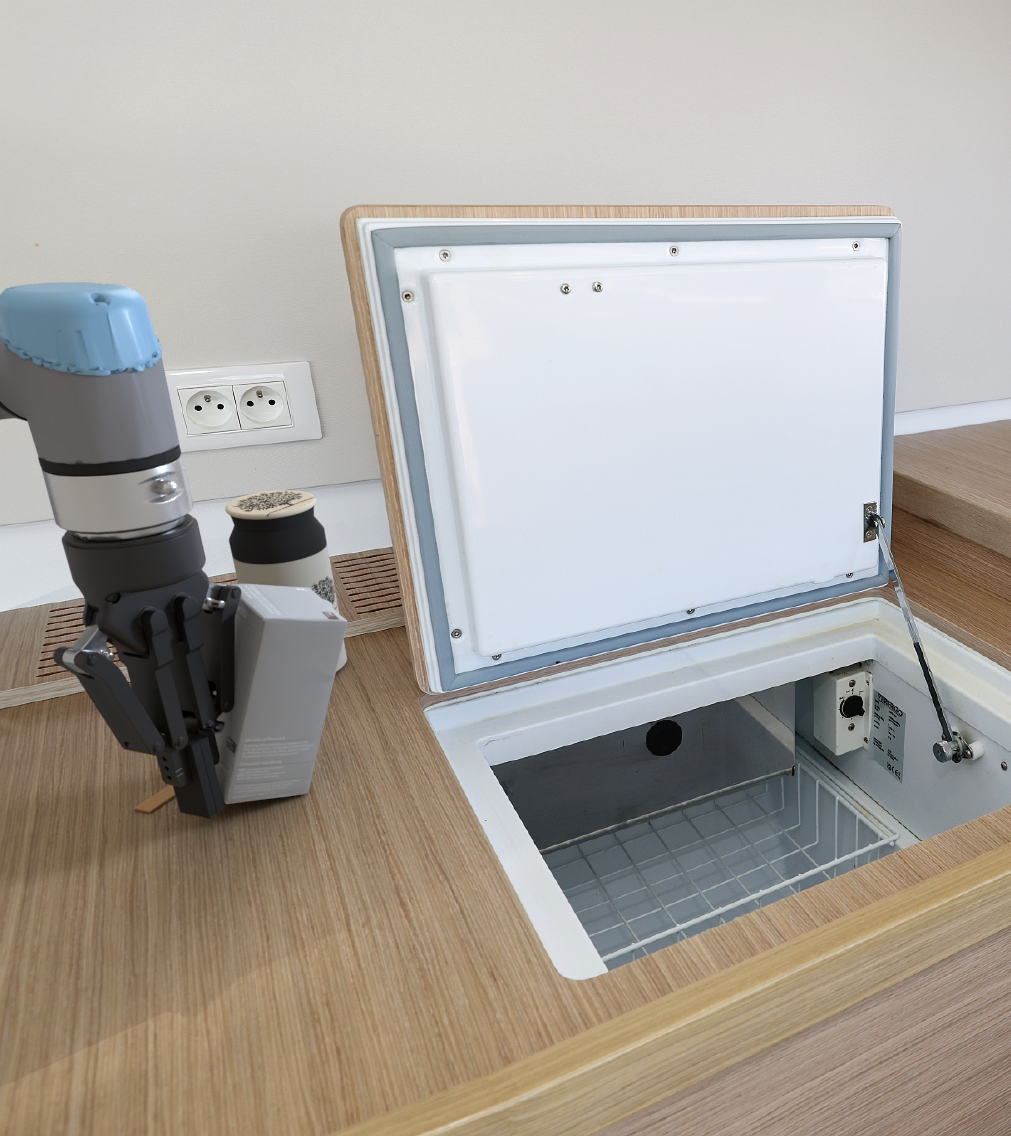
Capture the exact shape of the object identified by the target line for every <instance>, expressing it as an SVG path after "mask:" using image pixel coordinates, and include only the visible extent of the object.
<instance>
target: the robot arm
mask: <svg viewBox="0 0 1011 1136" xmlns="http://www.w3.org/2000/svg"><path fill="white" fill-rule="evenodd" d="M162 351H163V349H162V344H161V342H160V338H158V336H157V335H156V333H155V329H154V326H153V323H152V319H151V315H150V312H149V309H148V305H147V302H146V300H145V299H144V297H143V296H142V295H141V294H140V293H139V292H138V291H137V290H135V289H134V288H132V287H129V286H126V285H121V284H116V283H96V282H89V281H88V282H79V281H75V282H73V281H72V282H69V281H67V282H63V281H61V282H41V283H40V282H39V283H29V284H20V285H15V286H14V285H13V286H9V287H7V288H5V289H4V290H3V291H1V293H0V421H2V420H9V419H10V420H11V419H17V420H21V421H24V422H27V425H28V429H29V430H30V434H31V437H32V441H33V445H34V447H35V450H36V454H37V457H38V458H37V459H38V462H39V466H40V468H41V469H40V470H41V472H42V476H43V477H42V478H43V480H44V485H45V488H46V492H47V495H48V499H49V503H50V507H51V510H52V515H53V518H54V522H55V525H56V526H58V527H59V528H60V529H63V530H65V532H64V534H63V535H62V536H61V545H62V547H63V551H64V554H65V558H66V562H67V564H68V568H69V572H70V575H71V579H72V581H73V583H74V584H75V586H76V587H77V589H78V590H79V592H80V593H81V595H82V596H83V599H84V607H83V612H82V617H81V619H82V623H83V626H85V629H84V630H83V631H82V633H81V634H80V635H79V637H77V639H76V640H75V642H74V643H73V644H72V646H68V645H61V646H59V647H57V648H56V649H55V650H54V652H53V654H52V655H53V656H52V659H53V661H54V663H56V664H57V665H58V666H60V667H61V668H63V669H65V670H66V671H68V672H70V673H71V674H73V675H74V676H75V677H76V678H77V680H78V681H79V683H80V685H81V686H82V688H83V689H84V691H85V692H86V694H87V695H88V697H89V699H90V700H91V702H92V703H93V705H94V707H95V708H96V709H97V711H98V712H99V714H100V716H101V717H102V718H103V720H104V722H105V723H106V725H107V726H108V728H109V730H110V731H111V732H112V734H113V736H114V737H115V739H116V740H117V742H118V743H119V745H120V747H121V748H122V749H123V750H125V751H130V752H135V753H139V754H145V755H150V756H155V758H156V761H157V762H156V763H157V765H158V768H159V773H160V776H161V780H162V781H163V782H164V784H165V785H167V786H168V785H173V788H174V792H175V799H176V803H177V807H178V810H179V813H181V814H185V815H191V816H196V817H200V818H205V819H209V820H210V819H211V818H213V817H215V815H217V814H218V813H220V812H222V811H223V810H224V809H225V808H226V807H225V802H223V798H222V794H221V790H220V786H219V782H218V778H217V773H216V769H215V765H217V764H218V763H219V759H220V755H219V750H218V746H217V742H216V738H215V734H218V733H220V732H221V731H223V729H224V727H225V722H224V721H219V720H217V718H218V717H219V716H220V715H221V714H222V713H223V712H224V713H228V712H230V711H231V710H232V709H233V707H234V685H235V614H236V611H237V608H238V604H239V601H240V597H241V593H242V592H241V589H240V588H239V587H238V586H232V585H230V584H225V583H218V582H213V581H210V579H209V577H208V576H209V575H208V574H207V573H206V572H205V571H204V570H203V568H204V567H205V565H206V562H207V561H206V560H207V557H206V552H205V549H204V544H203V538H202V535H201V530H200V527H199V522H198V520H197V518H195V517H194V516H193V515H191V514H190V512H191V511H192V510H193V508H194V501H193V497H192V492H191V488H190V487H191V486H190V483H189V480H188V475H187V470H186V466H185V460H184V457H183V453H182V450H181V445H180V439H179V435H178V430H177V424H176V420H175V414H174V411H173V405H172V401H171V395H170V392H169V386H168V381H167V377H166V372H165V367H164V362H163V356H162V355H163V352H162ZM107 643H108V644H110V645H111V646H113V647H114V648H115V651H116V655H117V658H118V661H120V663H121V664H123V665H124V667H126V670H127V674H128V678H129V680H128V679H127V678H126V676H125V674H124V673H123V671H122V670H121V669H120V667H119V666H118V665H117V664H115V663H114V662H113V661H114V660H115V658H116V655H115V653H113V652H111V650H110V649H109V647H108V645H107ZM214 691H216V695H214V694H213V693H214ZM214 733H215V734H214Z"/></svg>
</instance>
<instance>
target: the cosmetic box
mask: <svg viewBox="0 0 1011 1136" xmlns="http://www.w3.org/2000/svg"><path fill="white" fill-rule="evenodd" d="M229 585H232V586H238V587H239V588H240V589H241V592H242V593H241V597H240V601H239V604H238V608H237V611H236V614H235V685H234V707H233V709H232V710H231V711H230V712H228V713H224V712H223V713H222V714H221V715H220V716H219V717H218V718H217V720H219V721H224V722H225V727H224V729H223V731H221V732H220V733H218V734H215V733H214V734H215V738H216V742H217V746H218V750H219V755H220V759H219V763H218V764H217V765H215V769H216V773H217V778H218V782H219V786H220V790H221V794H222V798H223V803H224V805H225V804H226V805H229V804H236V803H245V802H252V801H253V802H254V801H260V800H268V799H278V798H286V797H291V796H292V797H293V796H299V795H307V794H309V792H310V788H311V784H312V779H313V774H314V770H315V765H316V761H317V756H318V753H319V748H320V745H321V740H322V739H321V738H322V736H323V735H322V734H323V730H324V725H325V721H326V717H327V716H326V715H327V712H328V708H329V704H330V698H331V694H332V690H333V685H334V682H335V677H336V674H337V672H336V669H337V665H338V660H339V656H340V652H341V648H342V643H343V639H345V635H346V630H347V625H348V620H347V619H346V618H345V617H344V616H342V615H341V614H340V612H339V613H337V612H336V611H335V610H334V609H333V608H332V606H333V605H332V603H331V602H329V601H327V600H324V599H322V598H321V597H319V596H318V595H317V594H316V593H315V592H314V591H313V590H312V589H310V588H308V587H287V586H271V585H258V584H238V583H230V584H229ZM213 694H214V695H216V691H214V693H213Z"/></svg>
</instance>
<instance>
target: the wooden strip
mask: <svg viewBox="0 0 1011 1136" xmlns="http://www.w3.org/2000/svg"><path fill="white" fill-rule="evenodd" d="M174 798H176V796H175V792H174V788H173V785H168V784H167V785H166V786H165V787H164V788H162V789H161V790H159V791H158V792H156V793H155V794H153V795H152V796H150V797H148V798H147V799H145V800H144V801H142V802H140V803H138V805H136V806H135V807H134V808H133V809H134V811H137V812H143V813H146V814H152V813H154V812H155V811H156V810H158V809H159V808H160V807H162V806H164V805H165V804H167V803H168V802H169V801H171V800H173V799H174Z"/></svg>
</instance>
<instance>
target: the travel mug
mask: <svg viewBox="0 0 1011 1136" xmlns="http://www.w3.org/2000/svg"><path fill="white" fill-rule="evenodd" d="M316 504H317V498H316V496H315V495H314V494H312V493H310V492H307V491H304V490H303V491H301V490H296V489H277V490H275V489H274V490H268V491H267V490H265V491H259V492H258V491H257V492H253V493H249V494H246V495H242V496H239V497H236V498H234V499H233V500H230V501H229V502H228V503H227V504H226V505H225V506H224V507H225V508H224V511H225V512H226V514H227V515H229V516H230V518H231V520H232V523H233V528H232V531H231V532H230V536H229V538H228V543H229V548H230V551H231V552H230V553H231V556H232V557H231V558H232V561H233V566H234V571H235V576H236V580H237V584H258V585H271V586H287V587H308V588H310V589H312V590H313V591H314V592H315V593H316V594H317V595H318V596H319V597H321V598H322V599H324V600H327V601H329V602H331V603H332V605H333V606H332V608H333V609H334V610H335V611H336V612H337V613H339V614H340V611H339V604H338V599H337V593H336V588H335V582H334V581H335V580H334V577H333V570H332V565H331V558H330V553H329V548H328V543H327V537H326V529H325V527H324V525H323V524H322V523H321V522H320V521H319V520H318V518H316V516H315V505H316ZM344 639H345V638H344ZM344 639H343V643H342V648H341V652H340V656H339V660H338V665H337V669H336V673H337V672H338V671H340V670H341V669H342V668H343V667H344V666H345V665H346V663H347V661H348V657H347V651H346V646H345V645H346V644H345V640H344Z"/></svg>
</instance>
